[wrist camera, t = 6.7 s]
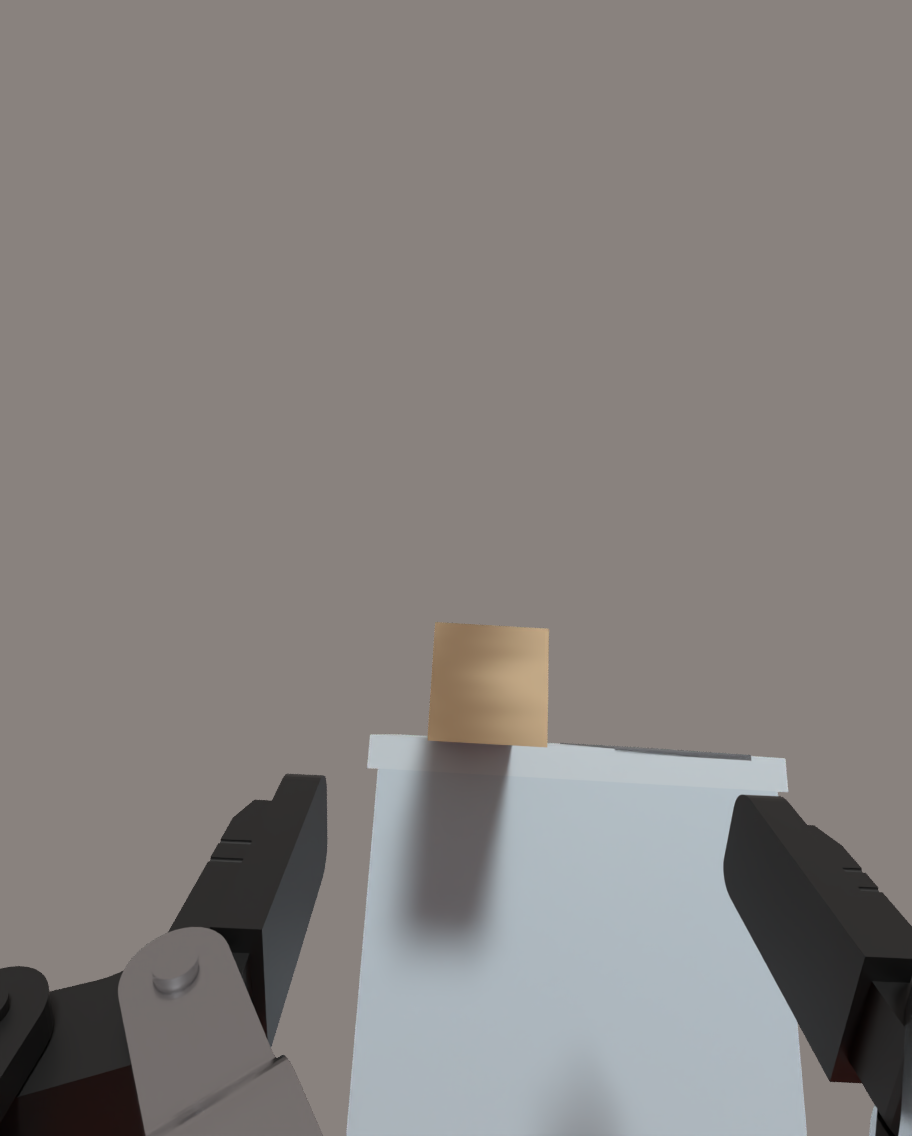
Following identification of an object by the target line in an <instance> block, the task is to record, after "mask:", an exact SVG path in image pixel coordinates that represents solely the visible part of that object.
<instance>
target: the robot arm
mask: <svg viewBox="0 0 912 1136" xmlns="http://www.w3.org/2000/svg"><path fill="white" fill-rule="evenodd" d="M326 854H327V786H326V778H325V776H322V775H301V774H286V775H285V776H284V778H283V779H282V781H281V783H280V785H279V787H278V789H277V791H276V793H275V796H274V798H273V800H272V801H267V800H254V801H252V803H250V804H249V805H248V806H246V807H245V808H244V809H243V810H242V811H240V812H239V813H238V814H237V815H236V816H234V817H233V819H232V821H231V822H230V824H229V826H228V827H227V829H226V831H225V833H224V835H223V836H222V838H221V842H220V843H219V844H218V845H217V847H216V849H215V850H214V852H213V854H212V856H211V860H210V862H208V863H207V865H206V866H205V868H204V870H203V872H202V873H201V875H200V877H199V879H198V881H197V882H196V884H195V886H194V887H193V889H192V891H191V893H190V894H189V896H188V898H187V900H186V902H185V903H184V905H183V907H182V909H181V911H180V912H179V914H178V916H177V917H176V919H175V921H174V923H173V924H172V926H171V928H170V930H169V932H168V933H166V934H164V935H162V936H160V937H158V938H156V939H155V940H153V941H151V942H150V943H148V944H147V945H146V946H145V947H143V948H142V949H141V950H140V951H139V952H138V953H137V954H136V955H135V956H134V957H133V958H132V959H131V960H130V962H129V963H128V964H127V966H126V968H125V969H124V971H122V972H120V973H117V974H115V975H113V976H110V977H107V978H104V979H100V980H97V981H93V982H88V983H84V984H80V985H76V986H72V987H67V988H63V989H59V990H55V991H51V992H49V986H48V982H47V980H46V978H45V976H44V975H43V974H42V973H41V972H39V971H37V970H36V969H33V968H29V967H20V966H16V967H7V968H2V969H0V1136H323V1135H322V1133H321V1130H320V1128H319V1125H318V1123H317V1121H316V1118H315V1116H314V1114H313V1111H312V1109H311V1107H310V1104H309V1102H308V1100H307V1098H306V1095H305V1093H304V1091H303V1088H302V1086H301V1084H300V1081H299V1079H298V1077H297V1075H296V1072H295V1070H294V1068H293V1066H292V1065H291V1063H290V1061H289V1060H288V1058H287V1057H286V1056H284V1055H282V1056H280V1057H278V1058H276V1057H275V1055H274V1054H273V1052H272V1049H271V1046H272V1043H273V1040H274V1036H275V1033H276V1030H277V1027H278V1023H279V1020H280V1017H281V1013H282V1010H283V1007H284V1003H285V1000H286V997H287V993H288V990H289V987H290V984H291V980H292V977H293V973H294V970H295V967H296V964H297V961H298V957H299V954H300V950H301V947H302V944H303V940H304V937H305V934H306V931H307V927H308V924H309V921H310V917H311V914H312V911H313V908H314V904H315V901H316V898H317V894H318V891H319V888H320V885H321V881H322V878H323V873H324V869H325V862H326ZM723 873H724V881H725V885H726V889H727V892H728V894H729V897H730V899H731V901H732V902H733V904H734V906H735V908H736V910H737V912H738V913H739V915H740V917H741V919H742V921H743V923H744V925H745V926H746V928H747V930H748V932H749V934H750V936H751V937H752V939H753V941H754V943H755V945H756V947H757V948H758V950H759V952H760V954H761V956H762V958H763V960H764V961H765V963H766V965H767V967H768V969H769V971H770V972H771V974H772V976H773V978H774V980H775V982H776V983H777V985H778V987H779V989H780V991H781V993H782V995H783V996H784V998H785V1000H786V1002H787V1004H788V1006H789V1007H790V1009H791V1011H792V1013H793V1015H794V1017H795V1018H796V1020H797V1022H798V1024H799V1025H800V1028H801V1030H802V1031H803V1033H804V1035H805V1037H806V1038H807V1041H808V1042H809V1044H810V1046H811V1048H812V1050H813V1052H814V1053H815V1055H816V1057H817V1059H818V1061H819V1063H820V1064H821V1066H822V1068H823V1070H824V1072H825V1074H826V1076H827V1077H828V1079H829V1081H830V1082H847V1083H848V1082H849V1083H862V1084H863V1085H864V1087H865V1089H866V1091H867V1092H868V1094H869V1096H870V1098H871V1099H872V1101H873V1102H874V1104H875V1105H874V1109H873V1112H872V1116H871V1123H870V1134H869V1136H912V926H911V925H910V924H909V923H908V922H907V920H906V919H905V918H904V917H903V916H902V915H901V914H900V912H899V911H898V910H897V909H896V908H895V906H894V905H893V904H892V903H891V902H890V901H889V900H888V898H887V897H886V896H885V895H884V894H883V893H882V892H879V891H878V887H877V886H876V885H875V883H873V881H872V880H871V879H870V878H869V876H868V875H867V874H866V873H862V870H861V867H860V866H859V865H858V864H857V862H856V861H855V860H854V859H853V858H852V857H851V856H850V855H849V853H848V852H847V851H846V850H845V849H844V847H843V846H842V845H840V844H839V843H837V842H836V841H835V840H833V839H832V838H830V837H829V836H828V835H827V834H825V833H824V832H822V831H821V830H820V829H818V828H817V827H815V826H813V825H812V826H811V825H807V824H806V823H805V822H804V821H803V820H802V818H801V817H800V816H799V815H798V814H797V812H796V811H795V810H794V809H793V807H792V806H791V805H790V804H789V803H788V801H787V800H786V799H784V798H783V797H781V796H763V795H739V796H738V797H737V799H736V801H735V804H734V809H733V814H732V819H731V824H730V829H729V834H728V840H727V845H726V850H725V855H724V861H723Z"/></svg>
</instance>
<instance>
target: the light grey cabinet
mask: <svg viewBox="0 0 912 1136" xmlns="http://www.w3.org/2000/svg"><path fill="white" fill-rule="evenodd" d="M367 768H378V774H377V787H376V798H375V809H374V821H373V832H372V844H371V855H370V867H369V879H368V891H367V902H366V914H365V925H364V937H363V948H362V959H361V971H360V982H359V983H360V984H359V994H358V1007H357V1018H356V1029H355V1041H354V1052H353V1064H352V1076H351V1088H350V1099H349V1110H348V1121H347V1133H346V1136H807V1130H806V1119H805V1107H804V1096H803V1083H802V1072H801V1060H800V1049H799V1038H798V1026H797V1020H796V1018H795V1017H794V1015H793V1013H792V1011H791V1009H790V1007H789V1006H788V1004H787V1002H786V1000H785V998H784V996H783V995H782V993H781V991H780V989H779V987H778V985H777V983H776V982H775V980H774V978H773V976H772V974H771V972H770V971H769V969H768V967H767V965H766V963H765V961H764V960H763V958H762V956H761V954H760V952H759V950H758V948H757V947H756V945H755V943H754V941H753V939H752V937H751V936H750V934H749V932H748V930H747V928H746V926H745V925H744V923H743V921H742V919H741V917H740V915H739V913H738V912H737V910H736V908H735V906H734V904H733V902H732V901H731V899H730V897H729V894H728V892H727V889H726V885H725V881H724V873H723V861H724V855H725V850H726V845H727V840H728V834H729V829H730V824H731V819H732V814H733V809H734V804H735V801H736V799H737V797H738V796H739V795H763V796H778V792H788V784H787V773H786V762H785V758H771V757H757V756H751V755H741V754H726V753H712V752H698V751H684V750H669V749H654V748H638V747H637V748H636V747H619V746H603V745H586V744H568V743H560V744H555V743H547V747H530V746H513V745H496V744H478V743H461V742H444V741H428V736H416V735H399V734H398V735H397V734H386V735H385V734H384V735H370V744H369V755H368V766H367Z"/></svg>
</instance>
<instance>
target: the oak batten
mask: <svg viewBox="0 0 912 1136" xmlns="http://www.w3.org/2000/svg"><path fill="white" fill-rule="evenodd" d="M548 654H549V629H542V628H526V627H509V626H492V625H473V624H457V623H439V622H436V623H435V635H434V650H433V665H432V681H431V695H430V711H429V727H428V741H444V742H461V743H478V744H496V745H513V746H530V747H547V731H548V729H547V728H548Z"/></svg>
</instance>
